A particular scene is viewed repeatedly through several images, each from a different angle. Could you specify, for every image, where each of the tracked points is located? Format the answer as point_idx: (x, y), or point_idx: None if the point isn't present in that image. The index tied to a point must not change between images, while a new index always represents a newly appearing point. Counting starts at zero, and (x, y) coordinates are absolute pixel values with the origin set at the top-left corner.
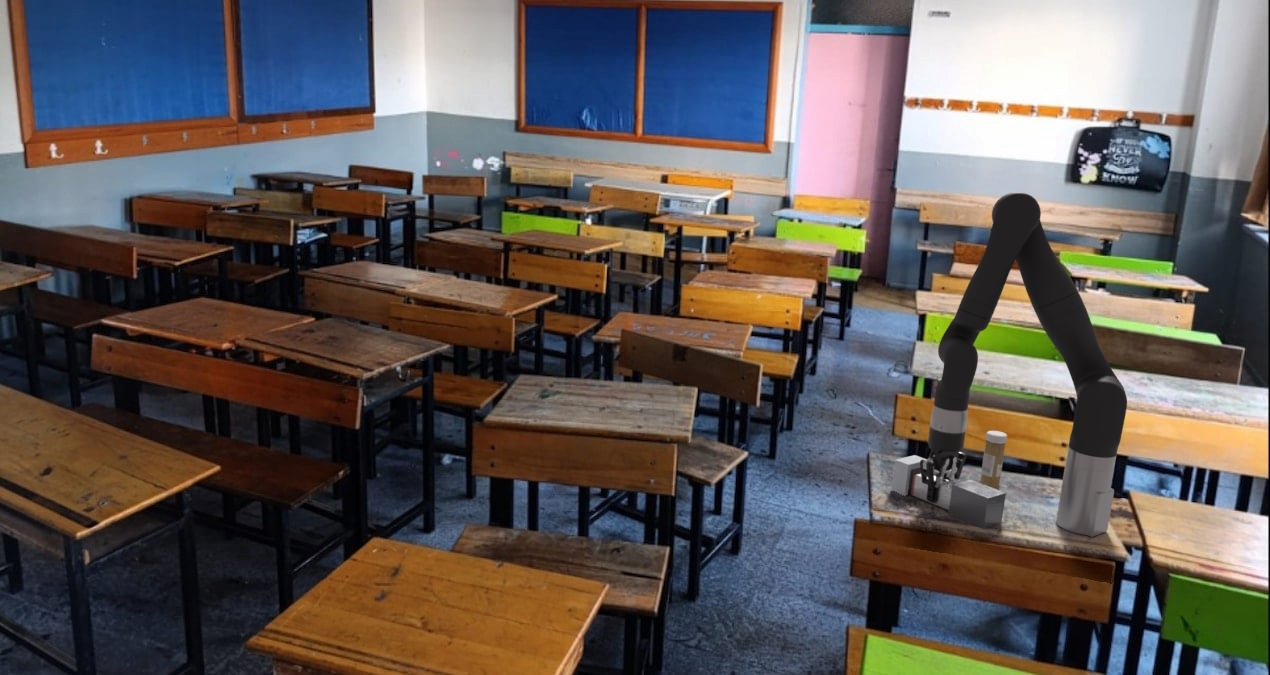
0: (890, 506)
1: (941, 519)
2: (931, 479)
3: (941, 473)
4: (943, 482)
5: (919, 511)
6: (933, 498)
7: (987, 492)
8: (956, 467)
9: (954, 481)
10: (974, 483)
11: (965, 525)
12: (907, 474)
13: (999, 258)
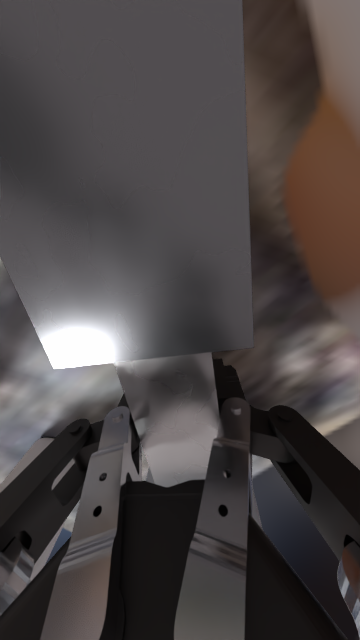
0: (346, 396)
1: (290, 261)
2: (319, 443)
3: (248, 471)
4: (183, 416)
5: (298, 341)
6: (226, 371)
7: (81, 49)
8: (2, 484)
9: (37, 440)
10: (67, 307)
11: (252, 174)
12: (256, 506)
13: None
